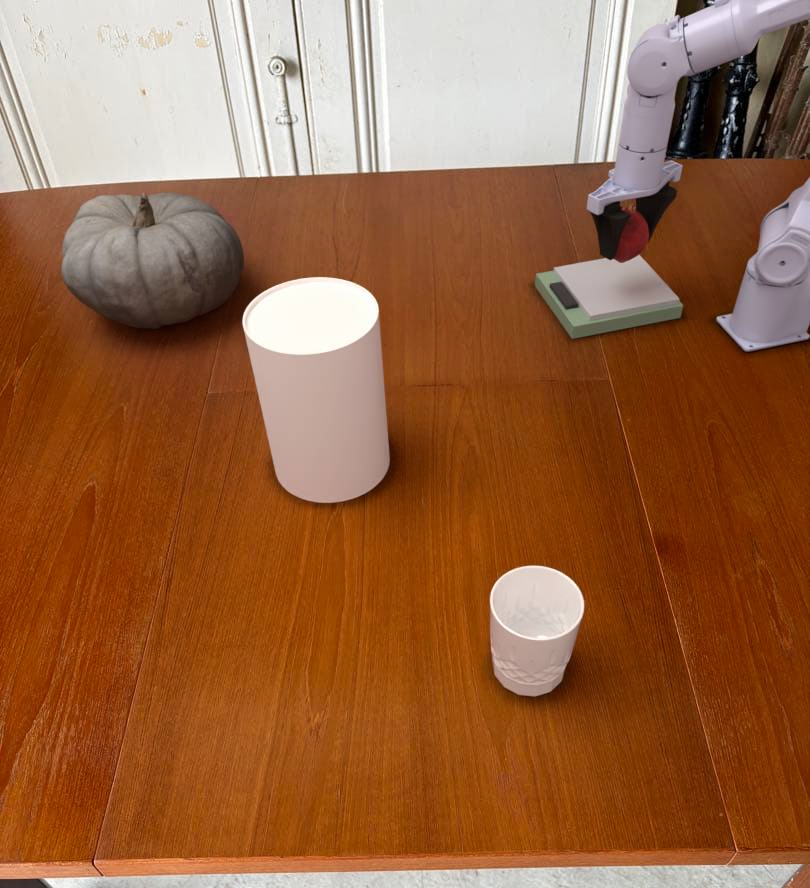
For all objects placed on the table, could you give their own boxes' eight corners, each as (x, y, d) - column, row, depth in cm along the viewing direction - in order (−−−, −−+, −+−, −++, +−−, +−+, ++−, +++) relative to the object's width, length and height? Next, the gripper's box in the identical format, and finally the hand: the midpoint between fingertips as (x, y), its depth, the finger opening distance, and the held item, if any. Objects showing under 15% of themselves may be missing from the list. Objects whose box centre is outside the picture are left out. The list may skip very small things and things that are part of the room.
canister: (301, 518, 90) (271, 370, 75) (258, 447, 98) (223, 301, 83) (409, 476, 94) (402, 327, 79) (359, 410, 102) (344, 264, 87)
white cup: (480, 635, 79) (483, 569, 71) (561, 627, 79) (572, 561, 71) (493, 706, 73) (498, 644, 66) (579, 698, 74) (594, 635, 66)
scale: (635, 267, 121) (638, 249, 119) (680, 317, 112) (684, 300, 110) (534, 286, 119) (536, 268, 117) (572, 339, 110) (574, 321, 108)
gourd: (121, 366, 105) (79, 229, 95) (51, 317, 121) (8, 195, 111) (282, 309, 117) (261, 182, 107) (199, 271, 133) (173, 157, 123)
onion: (643, 275, 107) (654, 216, 101) (598, 272, 108) (607, 214, 102) (643, 252, 111) (654, 195, 105) (600, 250, 111) (608, 192, 105)
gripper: (660, 116, 102) (640, 219, 112) (575, 149, 97) (562, 254, 107) (704, 134, 98) (680, 239, 109) (617, 169, 93) (601, 276, 103)
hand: (624, 248), depth 108 cm, fingers closed on onion, 6 cm apart
